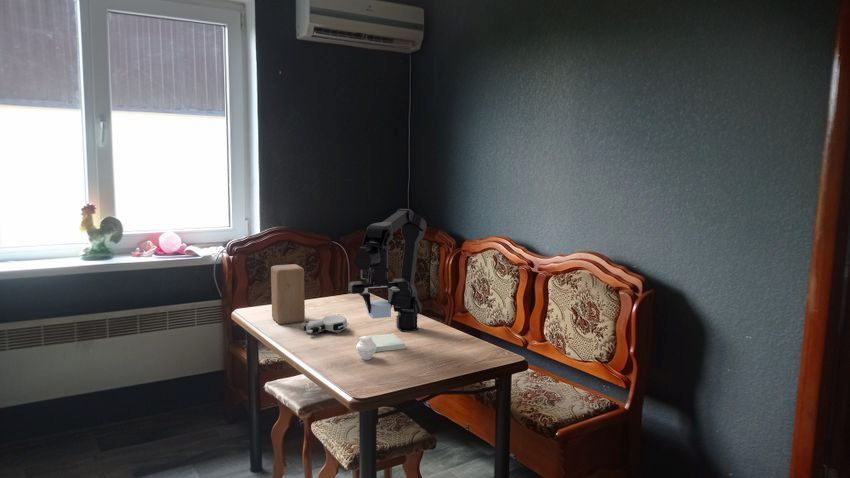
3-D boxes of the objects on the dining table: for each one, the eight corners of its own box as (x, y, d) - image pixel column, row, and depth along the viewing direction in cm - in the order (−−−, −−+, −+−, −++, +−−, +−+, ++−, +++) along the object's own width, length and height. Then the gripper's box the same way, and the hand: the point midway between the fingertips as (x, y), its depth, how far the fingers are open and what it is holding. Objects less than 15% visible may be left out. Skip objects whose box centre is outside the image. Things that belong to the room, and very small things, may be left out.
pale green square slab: (393, 337, 210) (393, 333, 210) (404, 348, 199) (405, 344, 199) (358, 341, 206) (358, 336, 206) (368, 352, 195) (368, 347, 195)
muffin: (376, 354, 193) (376, 332, 192) (377, 361, 187) (377, 338, 186) (355, 355, 192) (355, 333, 191) (356, 361, 186) (356, 338, 185)
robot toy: (308, 341, 209) (351, 333, 215) (307, 328, 208) (350, 320, 214) (300, 331, 220) (341, 324, 226) (299, 318, 219) (340, 312, 225)
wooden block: (278, 325, 224) (277, 270, 221) (271, 318, 232) (270, 265, 230) (305, 322, 228) (304, 268, 225) (297, 315, 237) (297, 263, 234)
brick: (385, 312, 205) (385, 300, 204) (390, 316, 199) (390, 304, 199) (367, 313, 203) (367, 301, 202) (372, 318, 197) (372, 306, 197)
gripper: (399, 258, 209) (399, 304, 212) (344, 261, 203) (345, 308, 206) (410, 264, 199) (409, 312, 201) (352, 267, 193) (352, 317, 195)
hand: (379, 312), depth 201 cm, fingers closed on brick, 6 cm apart
